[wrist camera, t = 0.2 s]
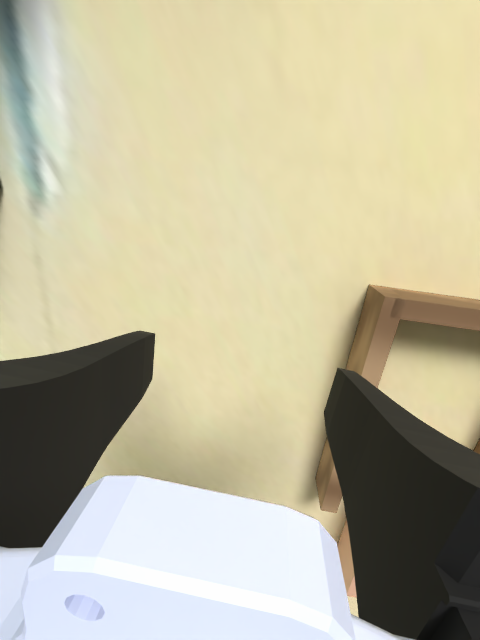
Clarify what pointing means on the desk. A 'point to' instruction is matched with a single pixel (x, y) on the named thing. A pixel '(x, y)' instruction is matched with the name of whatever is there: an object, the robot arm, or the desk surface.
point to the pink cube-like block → (347, 562)
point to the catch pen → (375, 345)
